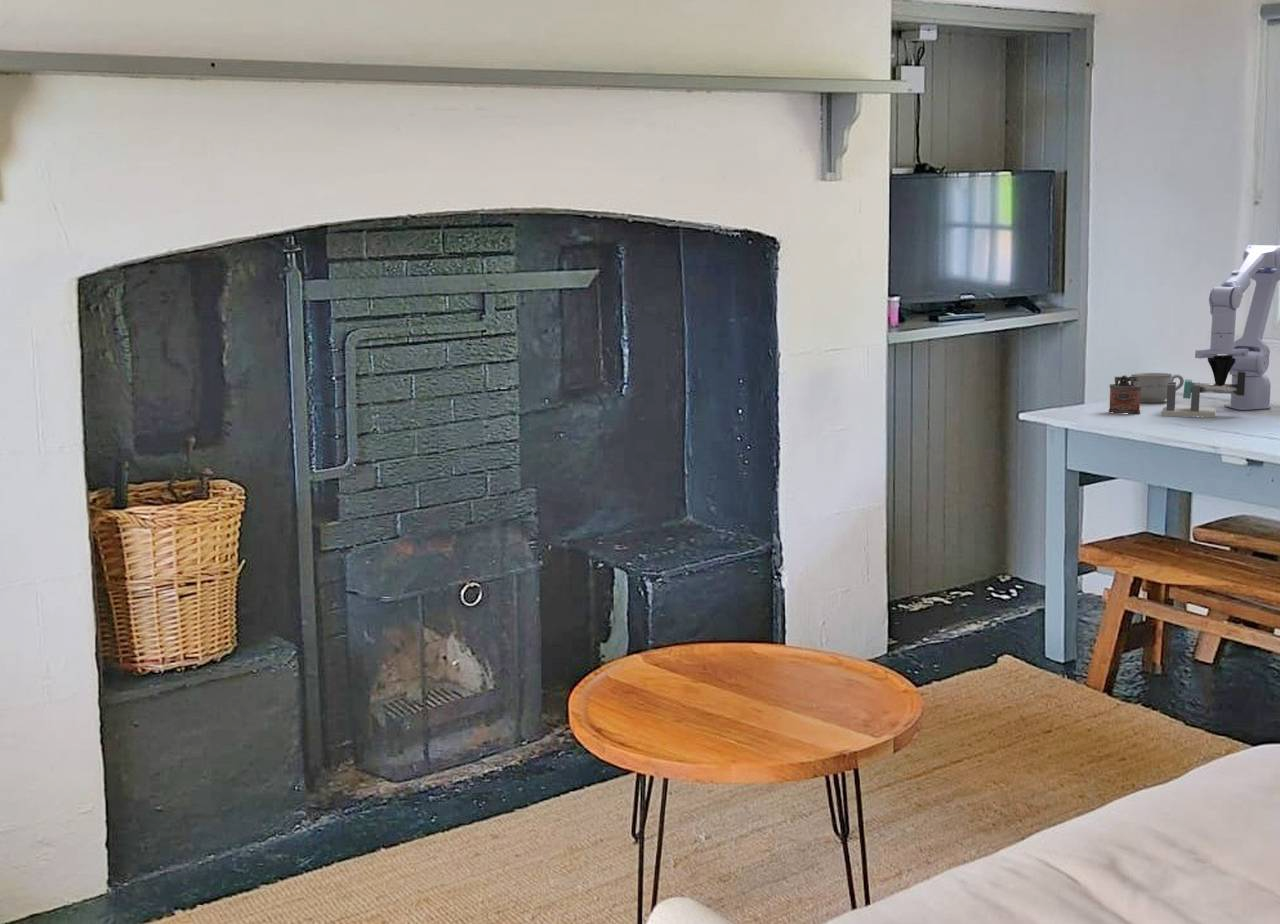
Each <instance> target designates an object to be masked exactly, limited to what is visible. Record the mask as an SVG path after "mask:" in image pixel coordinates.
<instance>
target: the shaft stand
mask: <svg viewBox="0 0 1280 924" xmlns="http://www.w3.org/2000/svg"><path fill="white" fill-rule="evenodd" d="M1176 387H1177V381H1173V382H1168V386H1167V399H1166V405H1165V406H1162V409H1161V410H1162V411H1161V416H1162V417H1181V416H1199V417H1198V418H1211V417H1215V418H1216V407H1200V394H1201V393H1200V385H1192V393H1191V397H1190V406H1176V392H1177V391H1176ZM1202 416H1203V417H1202Z"/></svg>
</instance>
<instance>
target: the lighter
mask: <svg viewBox="0 0 1280 924" xmlns="http://www.w3.org/2000/svg"><path fill="white" fill-rule="evenodd" d="M1133 381H1134V382H1138V381H1139V378H1138V377H1134V376H1128V375H1126V374H1123V375H1122V376H1114V383H1111V384H1109V409H1108V413H1109V412H1113V413H1112V414H1115V413H1128V414H1127V415H1135V414H1137V415H1141V410H1140V406H1141V402H1140V389H1141V385H1134V382H1133Z"/></svg>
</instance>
